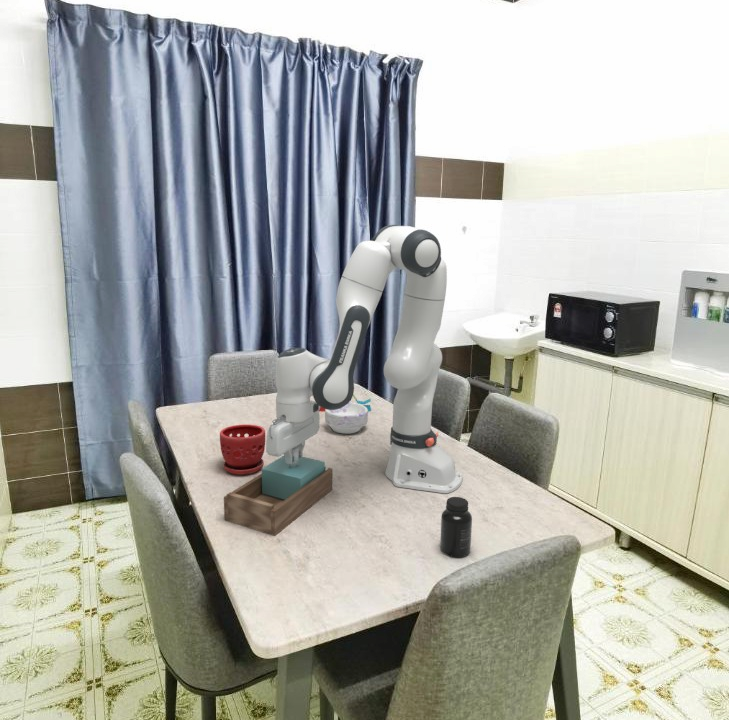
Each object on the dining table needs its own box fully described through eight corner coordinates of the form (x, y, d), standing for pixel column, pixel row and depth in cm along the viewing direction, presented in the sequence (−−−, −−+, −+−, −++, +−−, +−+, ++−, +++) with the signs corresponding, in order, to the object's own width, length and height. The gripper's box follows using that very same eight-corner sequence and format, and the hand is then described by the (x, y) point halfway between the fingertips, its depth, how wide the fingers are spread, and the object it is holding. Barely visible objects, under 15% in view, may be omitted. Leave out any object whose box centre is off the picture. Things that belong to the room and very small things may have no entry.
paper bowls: (352, 440, 192) (353, 418, 190) (316, 431, 199) (316, 409, 198) (375, 427, 204) (376, 406, 203) (340, 419, 212) (340, 399, 210)
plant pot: (274, 469, 168) (274, 430, 165) (236, 482, 159) (235, 442, 156) (250, 455, 177) (249, 419, 174) (212, 467, 168) (210, 429, 166)
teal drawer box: (325, 485, 155) (325, 444, 152) (301, 504, 144) (300, 460, 141) (288, 475, 160) (287, 435, 157) (261, 493, 149) (260, 450, 147)
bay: (332, 489, 156) (332, 465, 154) (275, 535, 132) (274, 507, 131) (286, 478, 162) (286, 454, 161) (224, 520, 139) (223, 493, 137)
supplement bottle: (466, 541, 132) (470, 494, 129) (473, 558, 125) (476, 509, 122) (437, 541, 131) (440, 494, 129) (442, 558, 125) (445, 508, 122)
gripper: (280, 424, 136) (281, 477, 139) (323, 401, 154) (323, 449, 157) (259, 420, 139) (260, 472, 142) (303, 398, 157) (304, 445, 160)
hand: (294, 460), depth 150 cm, fingers closed on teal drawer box, 3 cm apart
